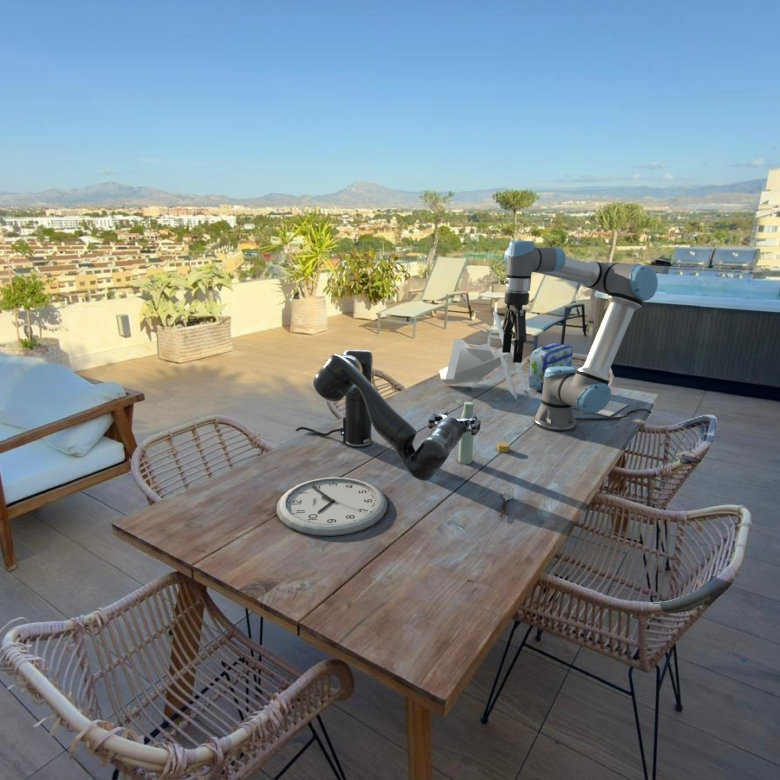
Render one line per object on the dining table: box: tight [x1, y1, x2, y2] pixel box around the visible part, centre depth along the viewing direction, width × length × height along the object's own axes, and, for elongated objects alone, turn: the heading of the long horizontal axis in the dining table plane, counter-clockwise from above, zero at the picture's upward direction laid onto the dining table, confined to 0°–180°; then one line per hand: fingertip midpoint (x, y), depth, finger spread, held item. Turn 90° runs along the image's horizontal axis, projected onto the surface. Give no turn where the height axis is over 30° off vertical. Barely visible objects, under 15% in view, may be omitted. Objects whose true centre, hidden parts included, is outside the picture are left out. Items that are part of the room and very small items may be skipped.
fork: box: [500, 486, 514, 518], centre depth 144 cm, size 3×16×2 cm, turn 160°
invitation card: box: [575, 400, 629, 418], centre depth 226 cm, size 21×1×15 cm
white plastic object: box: [438, 310, 531, 400], centre depth 245 cm, size 37×45×31 cm
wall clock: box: [276, 476, 388, 537], centre depth 142 cm, size 30×2×30 cm
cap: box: [496, 441, 511, 453], centre depth 180 cm, size 4×4×2 cm
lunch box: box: [528, 343, 574, 392], centre depth 249 cm, size 26×11×21 cm, turn 134°
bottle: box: [457, 401, 475, 465], centre depth 168 cm, size 4×4×20 cm
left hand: (460, 415), depth 155 cm, fingers open, 8 cm apart
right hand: (511, 357), depth 171 cm, fingers open, 13 cm apart
